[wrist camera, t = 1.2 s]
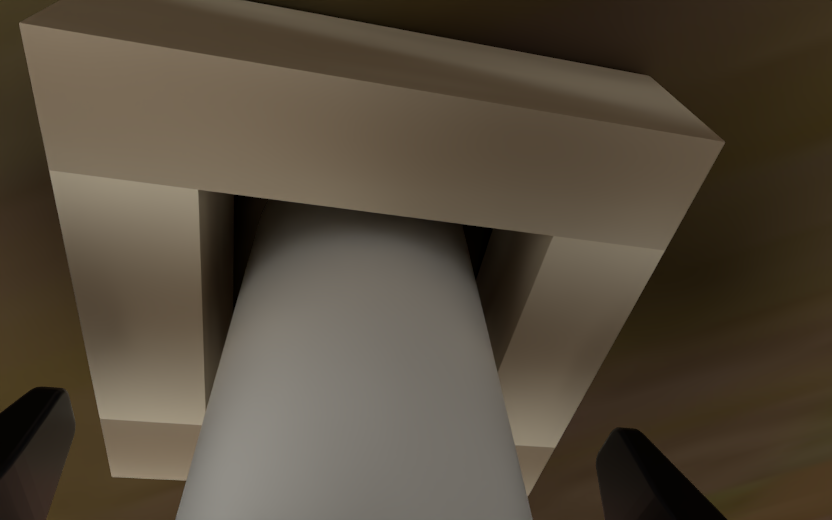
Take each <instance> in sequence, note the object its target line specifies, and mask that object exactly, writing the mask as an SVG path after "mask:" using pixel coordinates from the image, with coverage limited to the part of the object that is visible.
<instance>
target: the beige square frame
mask: <svg viewBox="0 0 832 520" xmlns="http://www.w3.org/2000/svg"><path fill="white" fill-rule="evenodd" d="M19 26H20V31H21V36H22V41H23V45H24V50H25V55H26V60H27V65H28V70H29V75H30V80H31V85H32V89H33V94H34V99H35V104H36V109H37V114H38V119H39V124H40V128H41V133H42V138H43V143H44V148H45V153H46V158H47V163H48V168H49V172H50V177H51V182H52V187H53V192H54V197H55V202H56V207H57V211H58V216H59V221H60V226H61V231H62V236H63V241H64V246H65V251H66V255H67V260H68V265H69V270H70V275H71V280H72V285H73V290H74V294H75V299H76V304H77V309H78V314H79V319H80V324H81V329H82V333H83V338H84V343H85V348H86V353H87V358H88V363H89V368H90V373H91V377H92V382H93V387H94V392H95V397H96V402H97V407H98V412H99V416H100V421H101V426H102V431H103V436H104V441H105V446H106V451H107V456H108V460H109V465H110V470H111V475H112V477H124V478H145V479H166V480H187V477H188V473H189V470H190V466H191V462H192V459H193V455H194V452H195V448H196V445H197V441H198V437H199V434H200V430H201V427H202V423H203V420H204V416H205V412H206V409H207V405H208V402H209V398H210V395H211V391H212V387H213V384H214V380H215V377H216V373H217V370H218V366H219V363H220V359H221V355H222V352H223V348H224V345H225V341H226V338H227V334H228V330H229V327H230V323H231V320H232V316H233V259H234V194H235V195H243V196H250V197H258V198H266V199H273V200H281V201H289V202H296V203H304V204H312V205H319V206H327V207H335V208H342V209H350V210H358V211H365V212H373V213H381V214H388V215H396V216H404V217H411V218H419V219H427V220H435V221H442V222H450V223H458V224H465V225H473V226H481V227H488V228H493V230H492V233H491V236H490V239H489V242H488V245H487V248H486V251H485V254H484V257H483V260H482V263H481V266H480V269H479V272H478V275H477V278H476V284H477V288H478V292H479V297H480V301H481V305H482V309H483V313H484V318H485V322H486V326H487V330H488V334H489V339H490V343H491V347H492V351H493V355H494V359H495V364H496V368H497V372H498V376H499V380H500V385H501V389H502V393H503V397H504V401H505V406H506V410H507V414H508V418H509V422H510V427H511V431H512V435H513V439H514V443H515V448H516V452H517V456H518V460H519V464H520V468H521V473H522V477H523V481H524V485H525V489H526V494H527V497H528V496H529V494H530V492H531V490H532V488H533V487H534V485H535V483H536V481H537V479H538V478H539V476H540V474H541V472H542V470H543V469H544V467H545V465H546V463H547V461H548V460H549V458H550V456H551V454H552V452H553V451H554V449H555V447H556V445H557V443H558V442H559V440H560V438H561V436H562V435H563V433H564V431H565V429H566V427H567V426H568V424H569V422H570V420H571V418H572V417H573V415H574V413H575V411H576V409H577V408H578V406H579V404H580V402H581V400H582V399H583V397H584V395H585V393H586V391H587V390H588V388H589V386H590V384H591V382H592V381H593V379H594V377H595V375H596V373H597V372H598V370H599V368H600V366H601V365H602V363H603V361H604V359H605V357H606V356H607V354H608V352H609V350H610V348H611V347H612V345H613V343H614V341H615V339H616V338H617V336H618V334H619V332H620V330H621V329H622V327H623V325H624V323H625V321H626V320H627V318H628V316H629V314H630V312H631V311H632V309H633V307H634V305H635V303H636V302H637V300H638V298H639V296H640V295H641V293H642V291H643V289H644V287H645V286H646V284H647V282H648V280H649V278H650V277H651V275H652V273H653V271H654V269H655V268H656V266H657V264H658V262H659V260H660V259H661V257H662V255H663V253H664V251H665V250H666V248H667V246H668V244H669V242H670V241H671V239H672V237H673V235H674V234H675V232H676V230H677V228H678V226H679V225H680V223H681V221H682V219H683V217H684V216H685V214H686V212H687V210H688V208H689V207H690V205H691V203H692V201H693V199H694V198H695V196H696V194H697V192H698V190H699V189H700V187H701V185H702V183H703V181H704V180H705V178H706V176H707V174H708V172H709V171H710V169H711V167H712V165H713V164H714V162H715V160H716V158H717V156H718V155H719V153H720V151H721V149H722V147H723V146H724V144H725V141H724V140H722V139H721V138H720V137H719V136H718V135H717V134H716V133H714V132H713V131H712V130H711V129H710V128H709V127H708V126H706V125H705V124H704V123H703V122H702V121H701V120H699V119H698V118H697V117H696V116H695V115H694V114H693V113H691V112H690V111H689V110H688V109H687V108H686V107H685V106H683V105H682V104H681V103H680V102H679V101H678V100H677V99H675V98H674V97H673V96H672V95H671V94H670V93H669V92H667V91H666V90H665V89H664V88H663V87H662V86H660V85H659V84H658V83H657V82H656V81H655V80H654V79H652V78H651V77H650V76H647V75H642V74H637V73H631V72H626V71H621V70H615V69H610V68H605V67H599V66H594V65H588V64H583V63H578V62H572V61H567V60H562V59H556V58H551V57H545V56H540V55H535V54H529V53H524V52H519V51H513V50H508V49H503V48H497V47H492V46H486V45H481V44H476V43H470V42H465V41H460V40H454V39H449V38H444V37H438V36H433V35H427V34H422V33H417V32H411V31H406V30H401V29H395V28H390V27H384V26H379V25H374V24H368V23H363V22H358V21H352V20H347V19H342V18H336V17H331V16H325V15H320V14H315V13H309V12H304V11H299V10H293V9H288V8H283V7H277V6H272V5H266V4H261V3H256V2H250V1H245V0H59V1H57V2H56V3H54V4H52V5H50V6H48V7H47V8H45V9H43V10H41V11H39V12H37V13H36V14H34V15H32V16H30V17H28V18H26V19H25V20H23V21H21V22H19Z"/></svg>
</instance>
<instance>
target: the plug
mask: <svg viewBox="0 0 832 520" xmlns="http://www.w3.org/2000/svg"><path fill="white" fill-rule="evenodd" d="M175 520H533V519H532V515H531V510H530V506H529V502H528V498H527V494H526V489H525V485H524V481H523V477H522V473H521V468H520V464H519V460H518V456H517V452H516V448H515V443H514V439H513V435H512V431H511V427H510V422H509V418H508V414H507V410H506V406H505V401H504V397H503V393H502V389H501V385H500V380H499V376H498V372H497V368H496V364H495V359H494V355H493V351H492V347H491V343H490V339H489V334H488V330H487V326H486V322H485V318H484V313H483V309H482V305H481V301H480V297H479V292H478V288H477V284H476V280H475V276H474V271H473V267H472V263H471V259H470V255H469V250H468V246H467V242H466V238H465V234H464V230H463V226H462V224H458V223H450V222H442V221H435V220H427V219H419V218H411V217H404V216H396V215H388V214H381V213H373V212H365V211H358V210H350V209H342V208H335V207H327V206H319V205H312V204H304V203H296V202H289V201H281V200H273V199H269V200H268V202H267V203H266V205H265V207H264V209H263V211H262V213H261V217H260V220H259V223H258V227H257V231H256V234H255V238H254V241H253V245H252V248H251V252H250V255H249V259H248V263H247V266H246V270H245V273H244V277H243V280H242V284H241V288H240V291H239V295H238V298H237V302H236V305H235V309H234V313H233V316H232V320H231V323H230V327H229V330H228V334H227V338H226V341H225V345H224V348H223V352H222V355H221V359H220V363H219V366H218V370H217V373H216V377H215V380H214V384H213V387H212V391H211V395H210V398H209V402H208V405H207V409H206V412H205V416H204V420H203V423H202V427H201V430H200V434H199V437H198V441H197V445H196V448H195V452H194V455H193V459H192V462H191V466H190V470H189V473H188V477H187V480H186V484H185V487H184V491H183V495H182V498H181V502H180V505H179V509H178V512H177V516H176V519H175Z"/></svg>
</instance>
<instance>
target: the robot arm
mask: <svg viewBox="0 0 832 520" xmlns="http://www.w3.org/2000/svg"><path fill="white" fill-rule="evenodd" d="M74 433H75V418H74V414H73V410H72V406H71V402H70V398H69V394H68V392H67V391H66V390H65V389H63V388H55V387H36V388H34V389H32V390H30V391H29V392H27V393H26V394H25V395H23V396H22V397H21V398H19V399H18V400H17V401H15V402H14V403H13V404H12V405H10V406H9V407H8V408H6V409H5V410H4V411H2V412H1V413H0V520H46V518H47V515H48V512H49V509H50V506H51V503H52V500H53V497H54V494H55V491H56V488H57V485H58V482H59V479H60V476H61V473H62V470H63V467H64V464H65V461H66V458H67V455H68V452H69V449H70V446H71V443H72V440H73V437H74ZM596 470H597V476H598V482H599V488H600V494H601V500H602V506H603V512H604V518H605V520H727V519H726V518H725V517H724V516H723V515H722V514H721V513H720V512H719V511H718V510H717V509H716V507H715V506H714V505H713V504H712V503H711V502H710V501H709V500H708V499H707V498H706V497H705V496H704V495H703V494H702V493H701V492H700V491H699V490H698V489H697V488H696V487H695V486H694V485H693V484H692V483H691V482H690V481H689V480H688V479H687V478H686V477H685V476H684V475H683V474H682V473H681V472H680V471H679V470H678V469H677V468H676V467H675V466H674V465H673V464H672V463H671V462H670V461H669V460H668V459H667V458H666V457H665V456H664V455H663V453H662V452H661V451H660V450H659V449H658V448H657V447H656V446H655V445H654V444H653V443H652V442H651V441H650V440H649V439H648V438H647V437H646V436H645V435H644V434H643V433H642V432H640V431H639V430H637V429H633V428H615V429H614V430H613V431H612V432H611V433H610V435H609V437H608V438H607V440H606V441H605V443H604V444H603V446H602V448H601V449H600V451H599V452H598V455H597V458H596Z"/></svg>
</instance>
